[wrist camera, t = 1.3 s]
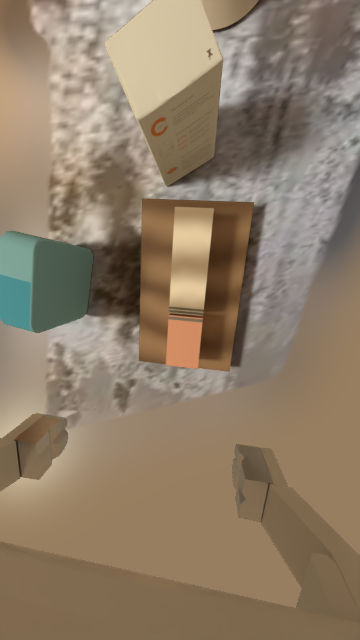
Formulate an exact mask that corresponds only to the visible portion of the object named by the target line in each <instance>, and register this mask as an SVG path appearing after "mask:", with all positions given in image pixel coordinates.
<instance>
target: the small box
mask: <svg viewBox="0 0 360 640" xmlns="http://www.w3.org/2000/svg"><path fill="white" fill-rule="evenodd" d="M105 47H106V50H107V52H108V54H109V57H110V59H111V62H112V64H113V66H114V69H115V71H116V73H117V76H118V78H119V80H120V83H121V85H122V87H123V90H124V92H125V94H126V96H127V99H128V101H129V103H130V106H131V108H132V110H133V113H134V115H135V117H136V119H137V122H138V124H139V126H140V129H141V131H142V133H143V136H144V138H145V140H146V143H147V145H148V147H149V149H150V152H151V154H152V156H153V158H154V161H155V163H156V165H157V167H158V170H159V172H160V174H161V176H162V178H163V181H164V183H165V185H166V186H169V185H170V184H172V183H174V182H175V181H177V180H178V179H180V178H182V177H183V176H185V175H186V174H188V173H190V172H191V171H193V170H194V169H196V168H198V167H199V166H201V165H202V164H204V163H205V162H207V161H209V160H210V159H212V158H213V157H214V154H215V143H216V133H217V121H218V110H219V98H220V88H221V77H222V66H223V57H222V55H221V52H220V49H219V47H218V44H217V42H216V39H215V36H214V34H213V31H212V28H211V25H210V23H209V20H208V17H207V14H206V12H205V9H204V6H203V4H202V1H201V0H153V1H152V2H151V3H149V4H148V5H147V6H146V7H145V8H144V9H143V10H141V11H140V12H139V13H138V14H137V15H136V16H135V17H133V18H132V19H131V20H130V21H129V22H128V23H126V24H125V25H124V26H123V27H122V28H121V29H120V30H118V31H117V32H116V33H115V34H114V35H113V36H111V37H110V38H109V39H108V40H107V41H105Z"/></svg>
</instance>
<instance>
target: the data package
mask: <svg viewBox="0 0 360 640" xmlns="http://www.w3.org/2000/svg"><path fill="white" fill-rule="evenodd" d="M92 266H93V254H92V252H91V250H90V249H87V248H83V247H79V246H75V245H71V244H67V243H63V242H59V241H54V240H50V239H46V238H42V237H37V236H33V235H28V234H24V233H20V232H16V231H8V232H6V233H4V234H3V235H2V236H1V238H0V319H1V321H2V322H3V323H5V324H7V325H10V326H14V327H17V328H21V329H25V330H28V331H32V332H35V333H40V332H43V331H46V330H49V329H52V328H54V327H57V326H60V325H63V324H66V323H69V322H71V321H74V320H77V319H80V318H82V317H84V315H85V314H86V312H87V308H88V300H89V291H90V283H91V274H92Z"/></svg>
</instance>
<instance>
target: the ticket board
mask: <svg viewBox="0 0 360 640" xmlns="http://www.w3.org/2000/svg"><path fill="white" fill-rule="evenodd" d="M253 206H254V202H227V201H198V200H170V199H142V228H141V280H140V331H139V361H144V362H153V363H161V364H166V353H167V335H168V317H169V314H170V313H175V314H186V315H196V316H203V322H202V332H201V342H200V352H199V362H198V368H204V369H212V370H221V371H230V364H231V357H232V350H233V343H234V336H235V330H236V323H237V316H238V309H239V302H240V295H241V288H242V281H243V274H244V268H245V261H246V254H247V247H248V240H249V233H250V226H251V219H252V213H253Z"/></svg>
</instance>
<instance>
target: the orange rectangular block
mask: <svg viewBox="0 0 360 640" xmlns="http://www.w3.org/2000/svg"><path fill="white" fill-rule="evenodd" d="M202 322H203V316H196V315H186V314H175V313H170V314H169V317H168V335H167V353H166V365H170V366H179V367H187V368H196V369H198V362H199V352H200V342H201V332H202Z"/></svg>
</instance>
